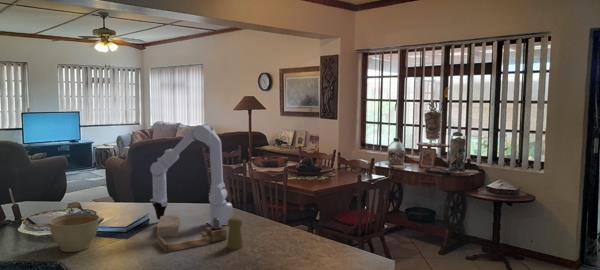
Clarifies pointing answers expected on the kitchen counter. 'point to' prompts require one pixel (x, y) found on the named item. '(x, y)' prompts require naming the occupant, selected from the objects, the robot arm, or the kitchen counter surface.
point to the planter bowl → (74, 230)
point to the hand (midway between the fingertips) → (160, 219)
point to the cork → (235, 233)
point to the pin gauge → (215, 224)
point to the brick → (168, 226)
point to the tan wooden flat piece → (185, 243)
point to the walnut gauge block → (216, 234)
